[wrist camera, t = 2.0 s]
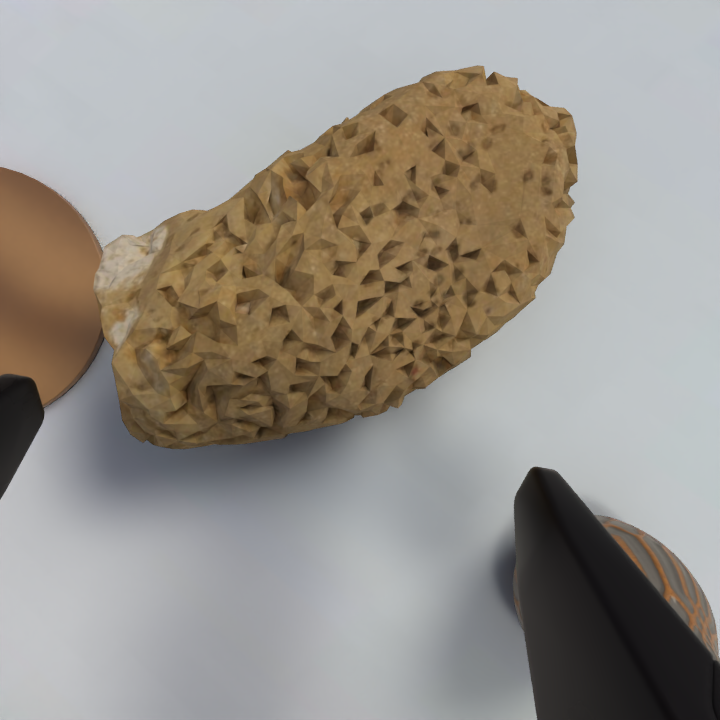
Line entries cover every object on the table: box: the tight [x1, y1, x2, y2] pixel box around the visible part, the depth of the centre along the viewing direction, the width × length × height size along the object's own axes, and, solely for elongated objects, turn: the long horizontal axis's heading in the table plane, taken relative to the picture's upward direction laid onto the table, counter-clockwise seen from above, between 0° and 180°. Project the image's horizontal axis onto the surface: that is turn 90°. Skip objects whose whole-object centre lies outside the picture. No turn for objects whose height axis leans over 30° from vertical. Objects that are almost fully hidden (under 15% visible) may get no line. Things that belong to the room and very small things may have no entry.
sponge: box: [93, 66, 577, 449], centre depth 20 cm, size 13×8×20 cm
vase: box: [513, 515, 720, 662], centre depth 20 cm, size 7×7×9 cm
